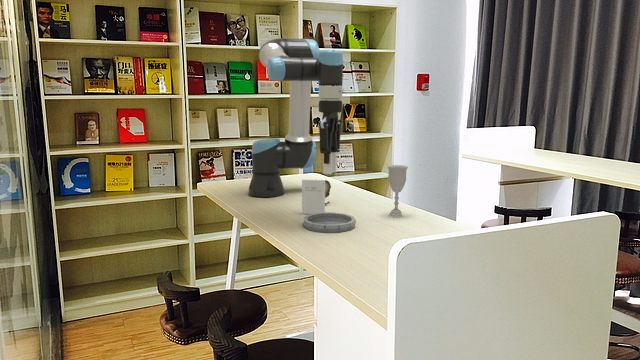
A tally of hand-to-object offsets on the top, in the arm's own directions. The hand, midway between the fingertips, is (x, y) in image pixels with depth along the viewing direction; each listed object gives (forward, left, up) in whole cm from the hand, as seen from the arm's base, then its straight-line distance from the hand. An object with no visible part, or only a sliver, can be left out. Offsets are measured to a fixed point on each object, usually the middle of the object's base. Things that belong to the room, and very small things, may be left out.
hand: (329, 172), depth 173 cm
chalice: (+16, +22, -18) cm, 33 cm away
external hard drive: (-12, +13, -18) cm, 25 cm away
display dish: (0, 0, -18) cm, 18 cm away
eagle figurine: (-16, +28, -18) cm, 37 cm away
